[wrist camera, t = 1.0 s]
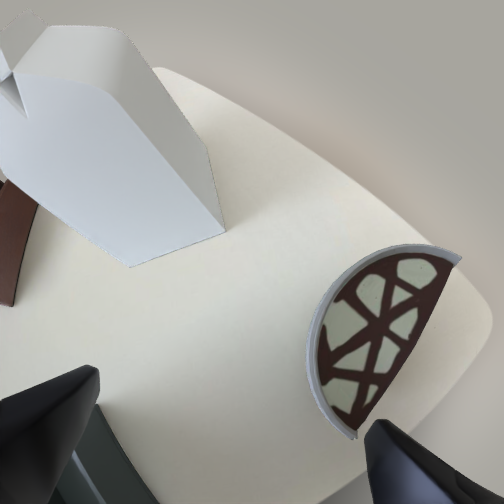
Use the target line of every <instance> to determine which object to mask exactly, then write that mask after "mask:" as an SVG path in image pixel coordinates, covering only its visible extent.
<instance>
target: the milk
mask: <svg viewBox="0 0 504 504" xmlns="http://www.w3.org/2000/svg"><path fill="white" fill-rule="evenodd" d="M0 168H1V170H2V172H3V173H4V175H5V176H6V177H7V178H8V179H9V180H10V181H11V182H13V183H14V184H15V185H16V186H17V187H19V188H20V189H21V190H22V191H24V192H25V193H26V194H27V195H29V196H30V197H31V198H33V199H34V200H35V201H36V202H38V203H39V204H40V205H42V206H43V207H44V208H45V209H47V210H48V211H49V212H51V213H52V214H53V215H55V216H56V217H57V218H59V219H60V220H62V221H63V222H64V223H66V224H67V225H68V226H70V227H71V228H72V229H74V230H75V231H77V232H78V233H79V234H81V235H82V236H84V237H85V238H87V239H88V240H89V241H91V242H92V243H94V244H95V245H97V246H98V247H100V248H101V249H102V250H104V251H105V252H107V253H108V254H110V255H111V256H113V257H114V258H116V259H117V260H119V261H120V262H122V263H123V264H125V265H126V266H128V267H129V268H131V267H133V266H136V265H138V264H141V263H144V262H146V261H149V260H151V259H154V258H157V257H159V256H162V255H165V254H167V253H170V252H173V251H175V250H178V249H181V248H183V247H186V246H189V245H191V244H194V243H197V242H200V241H202V240H205V239H208V238H210V237H213V236H216V235H219V234H221V233H224V232H226V230H225V226H224V221H223V217H222V213H221V209H220V205H219V200H218V196H217V192H216V188H215V183H214V179H213V175H212V170H211V166H210V162H209V157H208V153H207V148H206V146H205V145H204V144H203V142H202V141H201V139H200V138H199V136H198V135H197V133H196V132H195V130H194V129H193V128H192V126H191V125H190V123H189V122H188V120H187V119H186V117H185V116H184V115H183V113H182V112H181V110H180V109H179V107H178V106H177V104H176V103H175V102H174V100H173V99H172V97H171V96H170V94H169V93H168V92H167V90H166V89H165V87H164V86H163V85H162V83H161V82H160V80H159V79H158V77H157V76H156V75H155V73H154V72H153V70H152V69H151V68H150V66H149V65H148V63H147V62H146V61H145V59H144V58H143V57H142V55H141V54H140V52H139V51H138V49H137V48H136V47H135V45H134V44H133V43H132V41H131V40H130V39H129V37H128V36H127V35H126V34H125V33H123V32H121V31H119V30H117V29H114V28H110V27H102V26H78V25H76V26H75V25H74V26H73V25H71V26H70V25H66V26H65V25H63V26H62V25H61V26H59V25H58V26H48V25H47V24H46V23H45V22H44V21H42V19H40V18H39V17H38V16H37V15H36V14H34V13H33V12H32V11H31V10H30V9H29V8H28V9H26V10H25V11H24V12H23V13H21V14H20V15H19V16H18V17H17V18H15V19H14V20H13V21H12V22H11V23H10V24H9V25H7V26H6V27H5V28H4V29H3V30H2V31H1V32H0Z"/></svg>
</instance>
